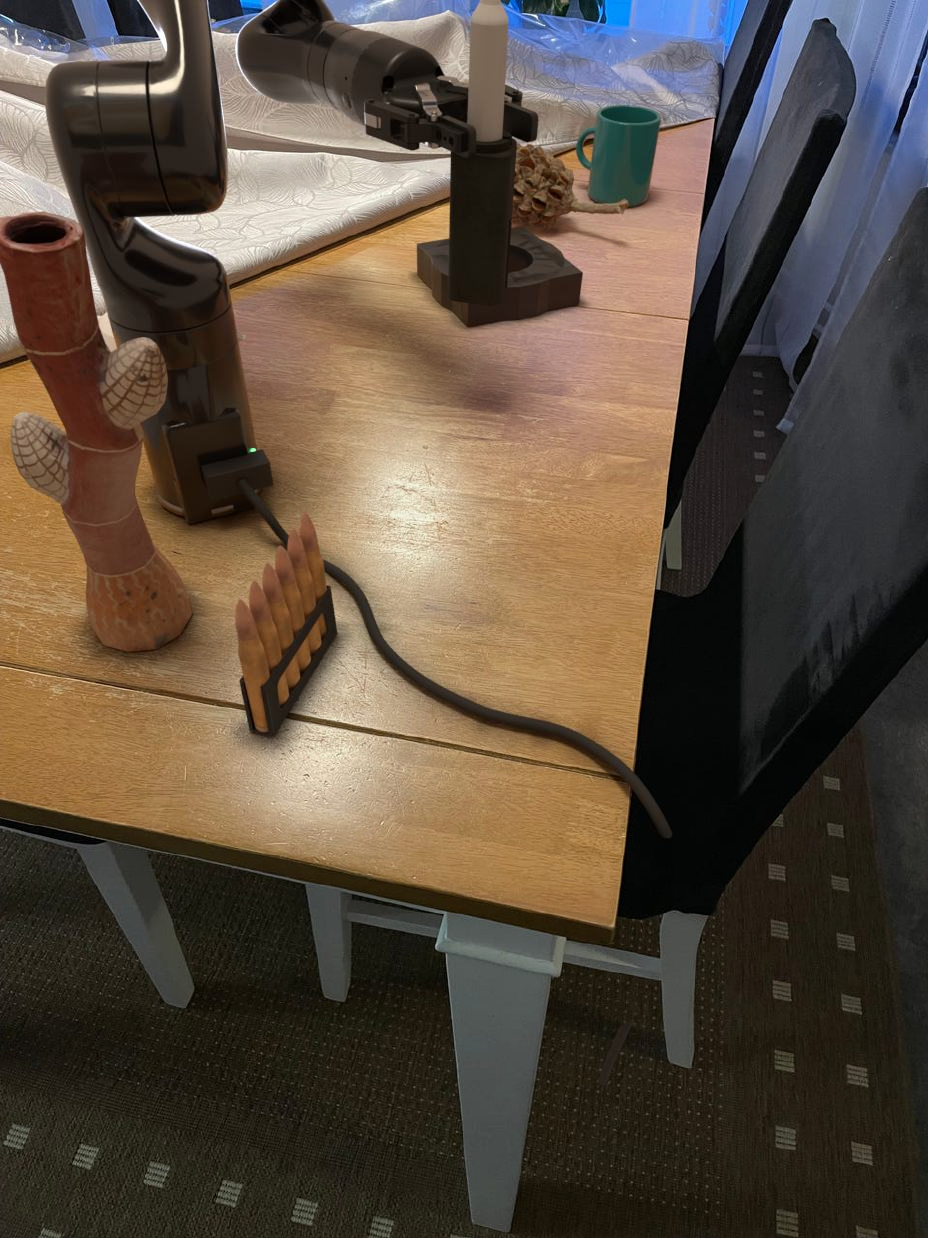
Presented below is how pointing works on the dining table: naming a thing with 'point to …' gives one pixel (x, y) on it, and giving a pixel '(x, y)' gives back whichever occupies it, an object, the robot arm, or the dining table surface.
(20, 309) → the vase
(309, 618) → the ammunition clip
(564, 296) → the candle base
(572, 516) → the dining table surface
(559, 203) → the pine cone
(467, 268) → the candle
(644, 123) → the cup
